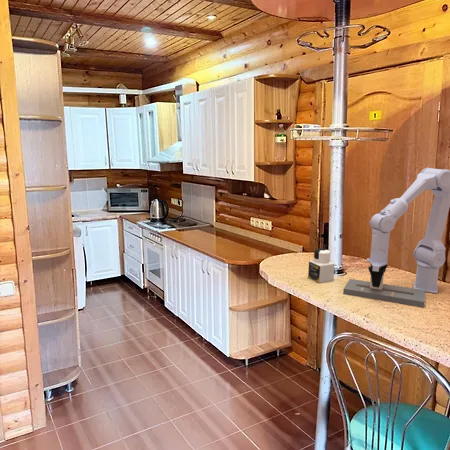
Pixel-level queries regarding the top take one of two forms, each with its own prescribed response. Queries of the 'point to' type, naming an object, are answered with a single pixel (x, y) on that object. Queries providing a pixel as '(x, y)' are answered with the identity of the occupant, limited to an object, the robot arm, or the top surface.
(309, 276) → the medicine bottle
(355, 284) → the fader console
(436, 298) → the top surface
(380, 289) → the fader tab
